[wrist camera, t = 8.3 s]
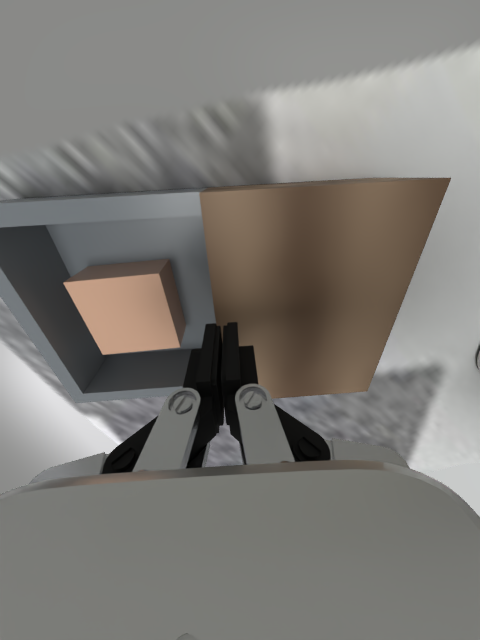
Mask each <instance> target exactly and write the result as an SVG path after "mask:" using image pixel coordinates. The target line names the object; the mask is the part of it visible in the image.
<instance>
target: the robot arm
mask: <svg viewBox="0 0 480 640" xmlns="http://www.w3.org/2000/svg"><path fill="white" fill-rule="evenodd" d="M477 366H478V368H479V371H480V351H479V355H478V358H477ZM224 409H225V416H226V423H227V425H230V433H231V435H232V436H233V437H235V438H236V439H237V440H238V441H239V445H240V451H241V456H242V462H243V465H235V466H219V467H205V466H206V461H207V457H208V452H209V448H210V441H211V440H212V439H213V438H214V437H215V436H216V433H219V426H220V425H223V423H224ZM0 640H480V517H479V516H478V515H477V514H476V512H475V511H474V510H473V509H472V508H471V507H470V506H469V505H468V504H467V503H466V502H465V501H464V500H463V499H462V498H461V497H460V496H459V495H457V494H456V493H455V492H454V491H453V490H452V489H450V488H449V487H447V486H446V485H444V484H443V483H441V482H439V481H438V480H435V479H434V478H431V477H429V476H427V475H425V474H423V473H420V472H418V471H415V470H412V469H410V468H409V466H408V465H407V463H406V461H405V460H404V459H403V458H402V457H401V456H400V455H399V454H398V453H396V452H395V451H393V450H392V449H389V448H386V447H382V446H376V445H370V444H364V443H359V442H353V441H347V440H341V439H335V438H332V440H325V439H323V438H322V437H321V436H320V435H319V434H317V433H316V432H314V431H313V430H311V429H310V428H308V427H307V426H305V425H304V424H302V423H301V422H300V421H298V420H297V419H295V418H294V417H292V416H291V415H289V414H288V413H286V412H285V411H283V410H282V409H281V408H279V407H278V406H276V405H275V404H274V403H273V401H272V398H271V395H270V393H269V391H268V390H267V389H266V388H265V387H263V386H261V385H259V383H258V376H257V369H256V361H255V354H254V347H253V345H251V346H239V339H238V324H237V322H229V323H227V325H224V326H223V343H222V334H221V327H220V326H217V324H216V323H212V324H206V325H205V331H204V336H203V342H202V348H201V349H192V350H191V353H190V358H189V362H188V366H187V371H186V375H185V379H184V384H183V388H181V389H178V390H176V391H174V392H172V393H171V394H170V395H169V396H168V398H167V399H166V401H165V403H164V405H163V407H162V409H161V411H160V413H159V416H157V417H156V418H155V419H153V420H152V421H151V422H149V423H148V424H147V425H145V426H144V427H143V428H141V429H140V430H139V431H137V432H136V433H135V434H133V435H132V436H131V437H129V438H128V439H127V440H125V441H124V442H123V443H121V444H120V445H119V446H117V447H116V448H115V449H114V450H113V451H112V452H111V453H110V454H105V452H104V453H101V454H97V455H93V456H90V457H86V458H83V459H79V460H76V461H72V462H69V463H65V464H62V465H58V466H55V467H51V468H49V469H47V470H44V471H43V472H41V473H40V474H38V475H37V476H36V477H35V478H34V479H33V480H32V481H31V482H30V483H29V484H28V485H25V486H21V487H18V488H15V489H12V490H10V491H7V492H5V493H2V494H0Z"/></svg>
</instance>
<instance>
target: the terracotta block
mask: <svg viewBox="0 0 480 640" xmlns="http://www.w3.org/2000/svg"><path fill="white" fill-rule="evenodd" d="M63 283H64V285H65V287H66V289H67V291H68V292H69V294H70V296H71V298H72V300H73V302H74V303H75V305H76V307H77V309H78V311H79V313H80V314H81V316H82V318H83V320H84V322H85V323H86V325H87V327H88V329H89V331H90V333H91V334H92V336H93V338H94V340H95V342H96V343H97V345H98V347H99V349H100V351H101V353H102V354H103V355H106V354H116V353H127V352H137V351H148V350H158V349H169V348H179V347H181V343H182V339H183V336H184V332H185V328H186V323H185V319H184V315H183V311H182V307H181V303H180V299H179V296H178V292H177V288H176V284H175V280H174V276H173V272H172V268H171V264H170V260H169V259H161V260H150V261H140V262H129V263H118V264H108V265H97V266H88V267H86V268H85V269H83V270H82V271H80V272H79V273H77V274H75V275H74V276H72V277H71V278H69V279H68V280H66V281H65V282H63Z"/></svg>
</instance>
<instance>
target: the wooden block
mask: <svg viewBox="0 0 480 640" xmlns="http://www.w3.org/2000/svg"><path fill="white" fill-rule="evenodd" d="M450 180H451V178H362V179H345V180H328V181H311V182H294V183H277V184H260V185H243V186H226V187H209V188H207V189H205V190H203V191H201V192H200V193H199V196H200V204H201V212H202V219H203V227H204V235H205V242H206V250H207V258H208V266H209V273H210V281H211V289H212V297H213V304H214V312H215V320H216V324H217V326H220V327H221V334H222V343H223V326H224V325H227V323H229V322H237V324H238V339H239V346H251V345H253V347H254V354H255V361H256V369H257V376H258V383H259V385H261V386H263V387H265V388H266V389H267V390H268V391H269V393H270V395H271V398H272V399H273V398H286V397H299V396H312V395H325V394H338V393H351V392H364V391H368V388H369V386H370V383H371V380H372V378H373V375H374V373H375V370H376V368H377V365H378V363H379V360H380V358H381V355H382V353H383V350H384V347H385V345H386V342H387V340H388V337H389V335H390V332H391V330H392V327H393V325H394V322H395V320H396V317H397V314H398V312H399V309H400V307H401V304H402V302H403V299H404V297H405V294H406V292H407V289H408V286H409V284H410V281H411V279H412V276H413V274H414V271H415V269H416V266H417V264H418V261H419V259H420V256H421V253H422V251H423V248H424V246H425V243H426V241H427V238H428V236H429V233H430V231H431V228H432V226H433V223H434V220H435V218H436V215H437V213H438V210H439V208H440V205H441V203H442V200H443V198H444V195H445V192H446V190H447V187H448V185H449V182H450Z"/></svg>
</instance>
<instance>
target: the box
mask: <svg viewBox="0 0 480 640" xmlns="http://www.w3.org/2000/svg"><path fill="white" fill-rule="evenodd" d="M205 189H207V188H192V189H175V190H158V191H141V192H124V193H107V194H90V195H73V196H56V197H39V198H22V199H12V200H2V201H0V297H1V298H2V299H3V301H4V302H5V304H6V305H7V306H8V308H9V309H10V311H11V312H12V314H13V315H14V316H15V318H16V319H17V321H18V322H19V323H20V325H21V326H22V328H23V329H24V331H25V332H26V333H27V335H28V336H29V338H30V339H31V340H32V342H33V343H34V345H35V346H36V348H37V349H38V350H39V352H40V353H41V355H42V356H43V357H44V359H45V360H46V362H47V363H48V365H49V366H50V367H51V369H52V370H53V372H54V373H55V374H56V376H57V377H58V379H59V380H60V382H61V383H62V384H63V386H64V387H65V389H66V390H67V391H68V393H69V394H70V396H71V397H72V399H73V400H74V401H75V403H83V402H96V401H109V400H122V399H135V398H148V397H162V396H169V395H170V394H171V393H172V392H174V391H176V390H178V389H181V388H183V384H184V379H185V375H186V371H187V366H188V362H189V358H190V353H191V350H192V349H201V348H202V342H203V336H204V331H205V325H206V324H212V323H216V320H215V312H214V304H213V297H212V289H211V281H210V273H209V266H208V258H207V250H206V242H205V235H204V227H203V219H202V212H201V204H200V196H199V193H200V192H201V191H203V190H205ZM161 259H169V260H170V264H171V268H172V272H173V276H174V280H175V284H176V288H177V292H178V296H179V299H180V303H181V307H182V311H183V315H184V319H185V323H186V328H185V332H184V336H183V339H182V343H181V347H179V348H169V349H158V350H148V351H137V352H127V353H116V354H106V355H103V354H102V353H101V351H100V349H99V347H98V345H97V343H96V342H95V340H94V338H93V336H92V334H91V333H90V331H89V329H88V327H87V325H86V323H85V322H84V320H83V318H82V316H81V314H80V313H79V311H78V309H77V307H76V305H75V303H74V302H73V300H72V298H71V296H70V294H69V292H68V291H67V289H66V287H65V285H64V283H63V282H65V281H66V280H68V279H69V278H71V277H72V276H74V275H75V274H77V273H79V272H80V271H82V270H83V269H85V268H86V267H88V266H97V265H108V264H118V263H129V262H140V261H150V260H161Z"/></svg>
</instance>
